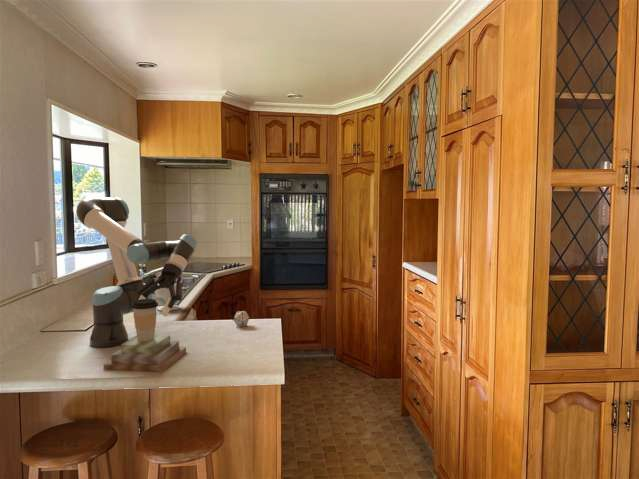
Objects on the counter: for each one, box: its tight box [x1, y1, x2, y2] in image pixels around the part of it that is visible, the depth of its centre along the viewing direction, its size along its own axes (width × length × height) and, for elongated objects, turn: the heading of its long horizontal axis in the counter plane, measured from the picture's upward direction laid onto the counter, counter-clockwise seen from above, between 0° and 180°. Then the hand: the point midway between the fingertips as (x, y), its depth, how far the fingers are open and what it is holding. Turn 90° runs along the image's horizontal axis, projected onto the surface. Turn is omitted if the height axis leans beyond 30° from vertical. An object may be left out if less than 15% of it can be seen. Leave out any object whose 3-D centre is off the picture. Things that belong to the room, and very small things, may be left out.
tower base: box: [103, 334, 187, 373], centre depth 177 cm, size 22×22×8 cm
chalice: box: [154, 283, 180, 312], centre depth 260 cm, size 14×14×15 cm
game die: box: [232, 309, 252, 328], centre depth 224 cm, size 9×8×10 cm
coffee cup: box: [132, 298, 159, 342], centre depth 177 cm, size 9×9×15 cm
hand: (149, 313), depth 177 cm, fingers open, 13 cm apart
